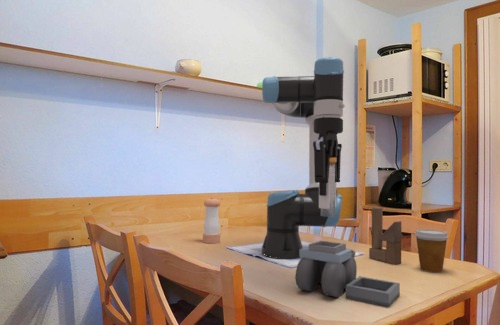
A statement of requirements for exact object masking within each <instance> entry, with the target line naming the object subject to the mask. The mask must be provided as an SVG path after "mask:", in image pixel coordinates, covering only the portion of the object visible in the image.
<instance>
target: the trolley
mask: <svg viewBox="0 0 500 325" xmlns="http://www.w3.org/2000/svg"><path fill="white" fill-rule="evenodd" d="M346 247H347V244H346V243H343V242H335V241H328V240H327V241H326V240H317V241H315V242H311V243H310V244H309V243H308V246H305V247H303V248H302V249H300V251H299V257H298V258H300V260H299V261H298V263H297V265H296V268H295V284H296V287H297V289H299V290H301V291H306V292H311V293H312V292H315V290H316V289H317V288H318V284H321V289H322V292H323V294H324V295H325V296H330V297H334V298H340V297H341V296H342V295H343V294H344V290H345V289H346V285H347V284H349V283H350V282H352V281H353V280H355V279H356V278H357V261H356V259H355V257H354V258H353V257H352V250H353V249H351V250H348V249H349V248H346Z"/></svg>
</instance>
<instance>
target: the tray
mask: <svg viewBox="0 0 500 325" xmlns="http://www.w3.org/2000/svg"><path fill="white" fill-rule="evenodd" d="M400 285H401V284H400V282H395V281H390V280H384V279H378V278H373V277H367V276H358V277H356V279H355V280H353V281H352V282H350V283H349V284H347V285H346V288H345V299H349V300H353V301H358V302H363V303H367V304H372V305H377V306H381V307H386V308H390V307H391V305H392V304H393V303H394V302H395V301H396V300H397V299H398V298H399V297H400V287H401V286H400Z"/></svg>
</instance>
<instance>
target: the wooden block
mask: <svg viewBox="0 0 500 325" xmlns="http://www.w3.org/2000/svg"><path fill="white" fill-rule="evenodd" d="M383 210H384V209H383V208H382V207H378V206H376V207H375V206H374V207H371V247H370V248H369V250H368V251H369V252H368V253H369V254H368V255H369V256H368V257H369V259H371V260H376V261H380V262H384V263H387V264H390V265H394V266H395V265H400V264H402V221H401V220H400V221H393V223H392V224H391V225H390V226H389V227H388V228H387V229H386V230H385V231H384V232H383V219H384V218H383V213H384V212H383ZM383 242H385V248H383Z"/></svg>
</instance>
